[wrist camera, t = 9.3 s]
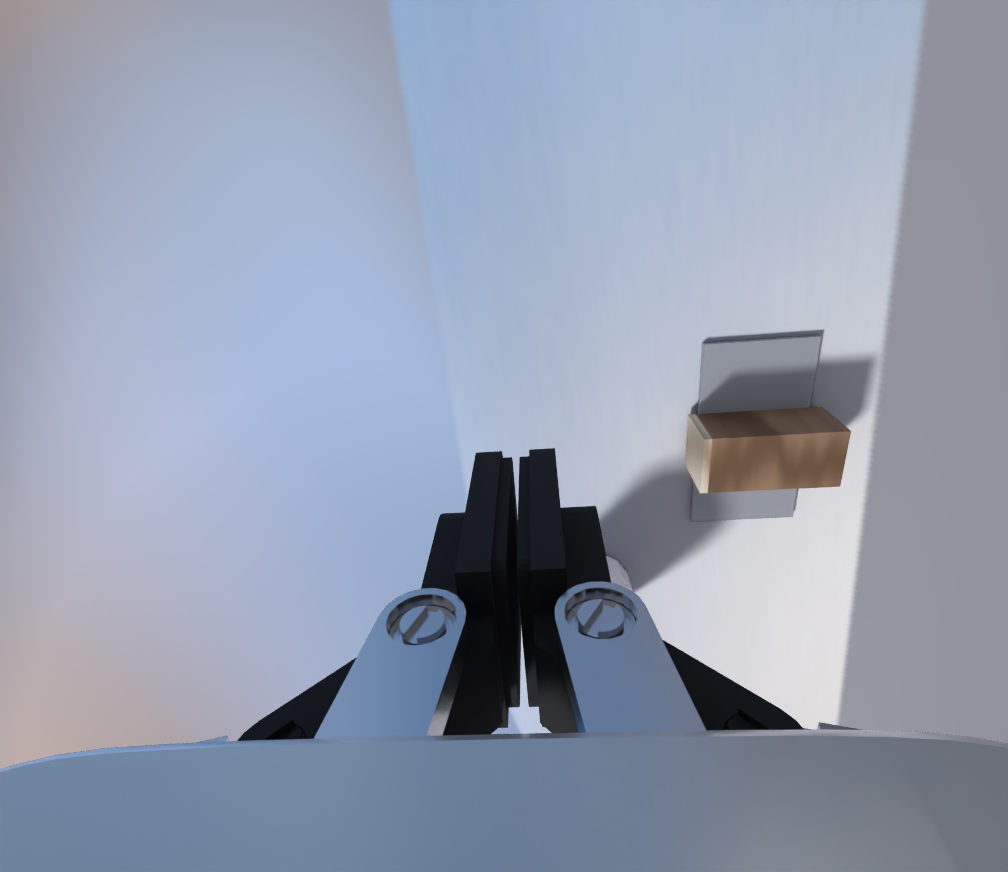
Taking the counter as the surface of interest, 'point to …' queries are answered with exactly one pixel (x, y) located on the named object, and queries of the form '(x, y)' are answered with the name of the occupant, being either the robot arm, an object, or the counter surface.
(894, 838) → the robot arm
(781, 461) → the block
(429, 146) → the counter surface
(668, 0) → the counter surface
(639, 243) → the counter surface
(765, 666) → the counter surface
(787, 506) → the mat
